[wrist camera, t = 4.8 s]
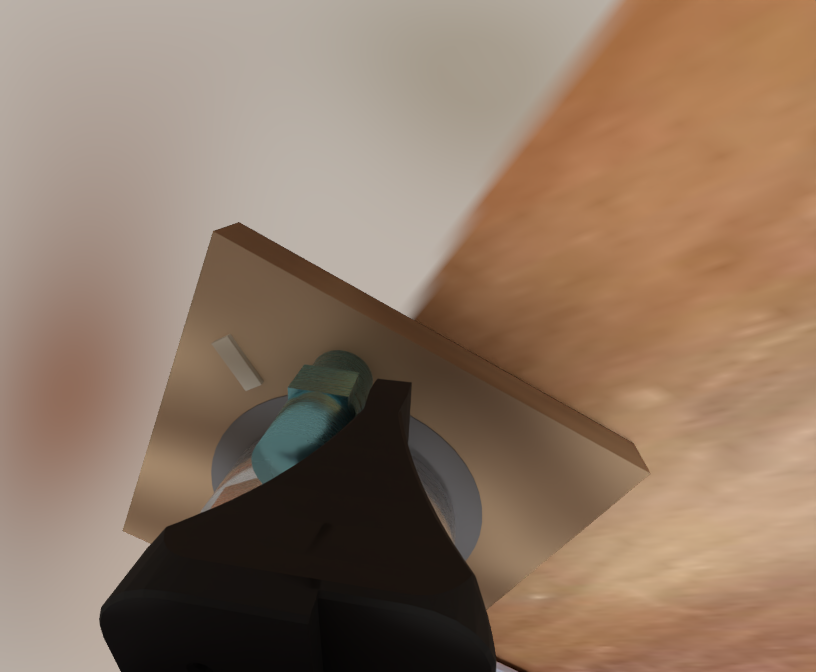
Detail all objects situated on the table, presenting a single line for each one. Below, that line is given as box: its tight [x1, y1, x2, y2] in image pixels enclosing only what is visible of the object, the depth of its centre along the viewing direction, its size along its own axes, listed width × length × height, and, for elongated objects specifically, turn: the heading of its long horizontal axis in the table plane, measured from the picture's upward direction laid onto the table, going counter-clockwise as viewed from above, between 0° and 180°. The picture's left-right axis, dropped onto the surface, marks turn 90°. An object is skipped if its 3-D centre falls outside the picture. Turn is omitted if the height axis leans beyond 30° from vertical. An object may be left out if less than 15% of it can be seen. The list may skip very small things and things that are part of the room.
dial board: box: [123, 222, 651, 610], centre depth 17 cm, size 16×16×2 cm
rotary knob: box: [200, 350, 456, 545], centre depth 13 cm, size 12×9×4 cm
